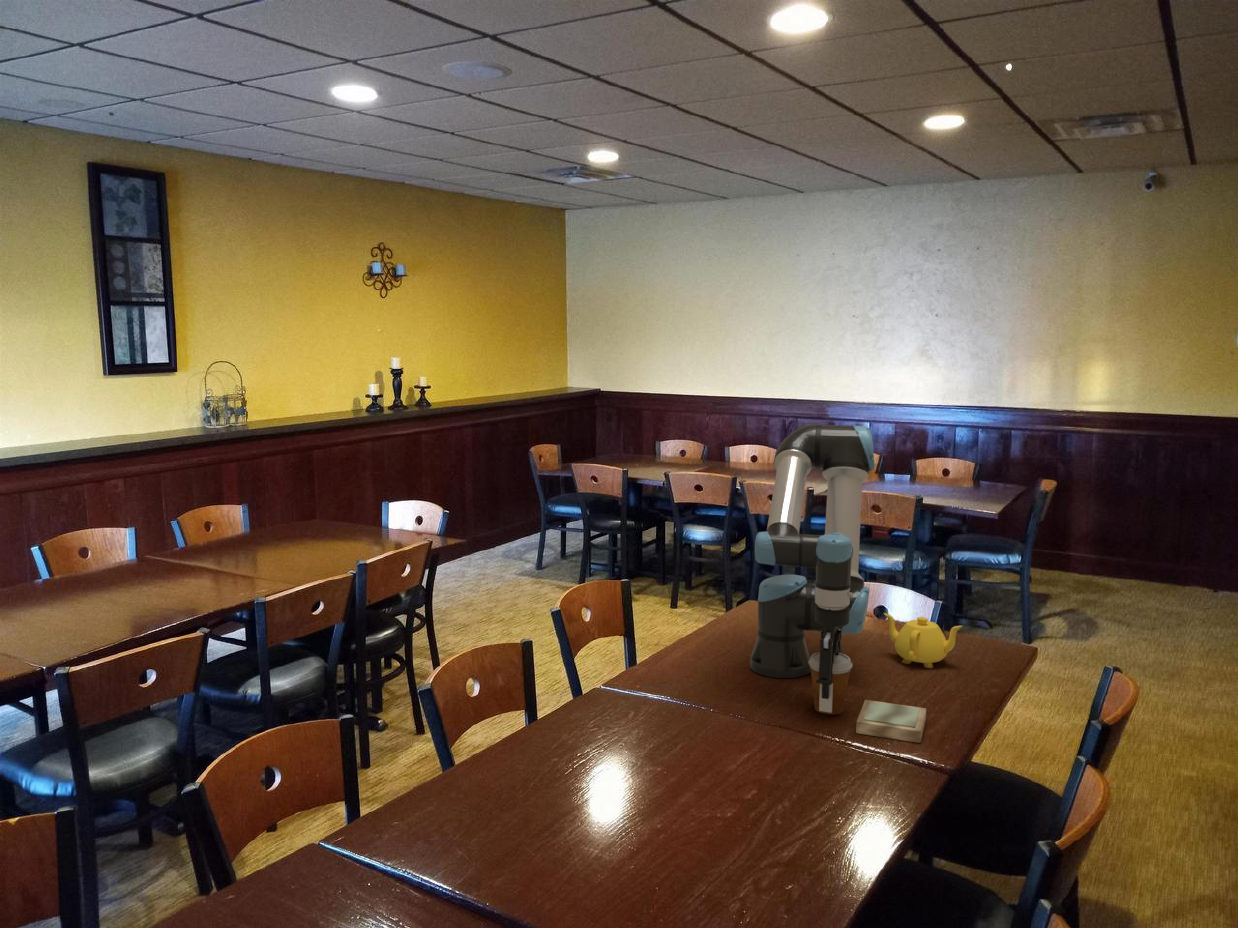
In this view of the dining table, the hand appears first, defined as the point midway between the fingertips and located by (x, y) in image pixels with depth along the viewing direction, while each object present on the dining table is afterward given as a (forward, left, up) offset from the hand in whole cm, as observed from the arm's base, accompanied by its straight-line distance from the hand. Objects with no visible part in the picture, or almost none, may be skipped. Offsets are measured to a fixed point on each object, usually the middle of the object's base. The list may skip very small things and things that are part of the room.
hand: (829, 703), depth 209 cm
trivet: (+14, -4, -1) cm, 15 cm away
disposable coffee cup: (0, 0, -1) cm, 1 cm away
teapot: (+16, +40, -2) cm, 43 cm away
